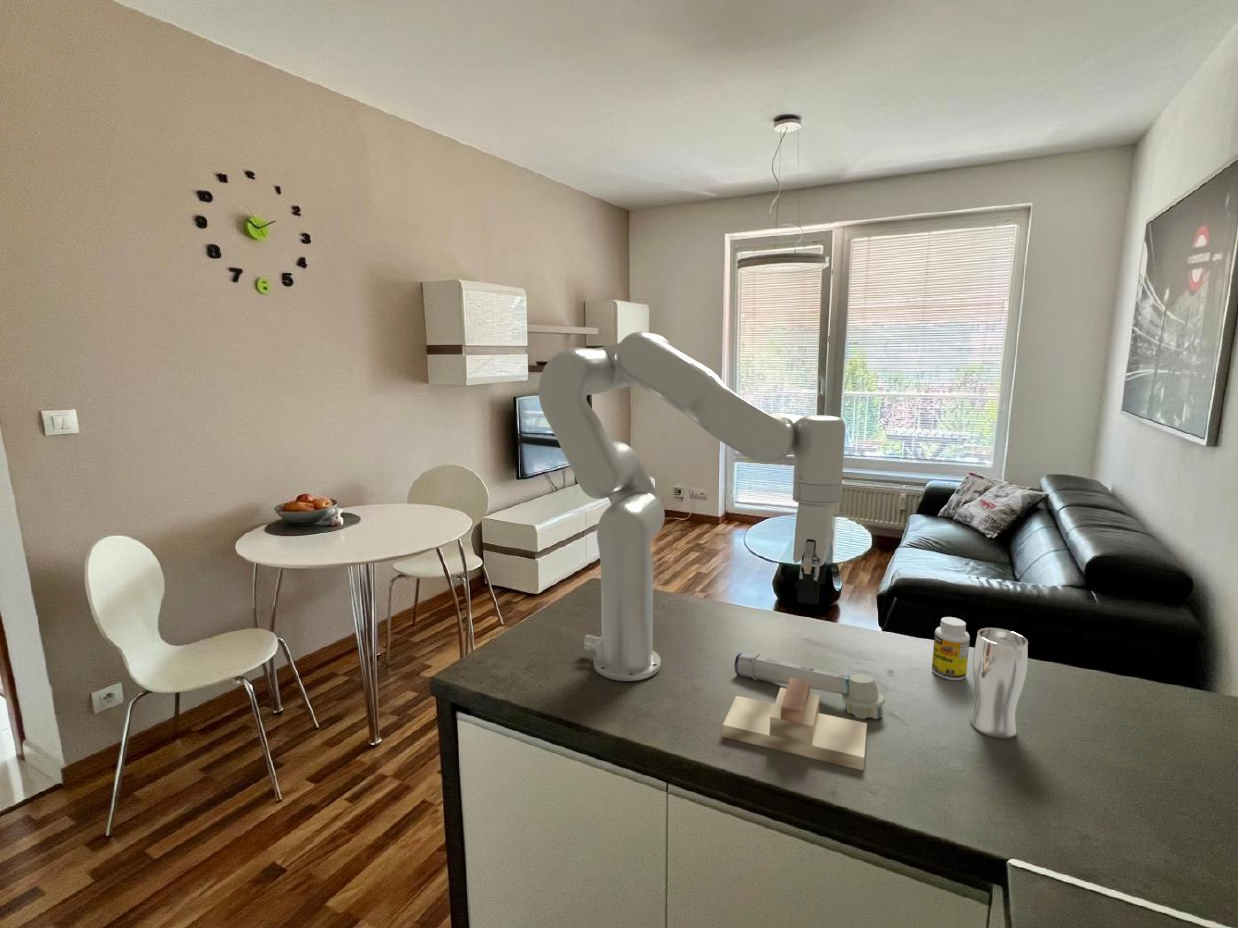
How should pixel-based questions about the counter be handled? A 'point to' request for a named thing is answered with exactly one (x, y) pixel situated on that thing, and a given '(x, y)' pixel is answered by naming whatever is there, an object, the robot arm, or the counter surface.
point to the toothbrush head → (817, 682)
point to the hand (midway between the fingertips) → (811, 592)
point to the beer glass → (998, 680)
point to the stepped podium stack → (797, 727)
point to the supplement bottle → (951, 649)
